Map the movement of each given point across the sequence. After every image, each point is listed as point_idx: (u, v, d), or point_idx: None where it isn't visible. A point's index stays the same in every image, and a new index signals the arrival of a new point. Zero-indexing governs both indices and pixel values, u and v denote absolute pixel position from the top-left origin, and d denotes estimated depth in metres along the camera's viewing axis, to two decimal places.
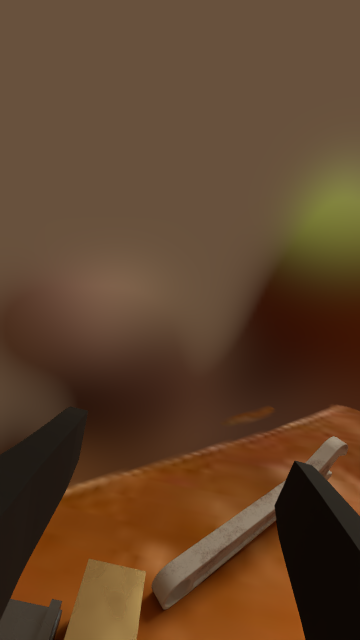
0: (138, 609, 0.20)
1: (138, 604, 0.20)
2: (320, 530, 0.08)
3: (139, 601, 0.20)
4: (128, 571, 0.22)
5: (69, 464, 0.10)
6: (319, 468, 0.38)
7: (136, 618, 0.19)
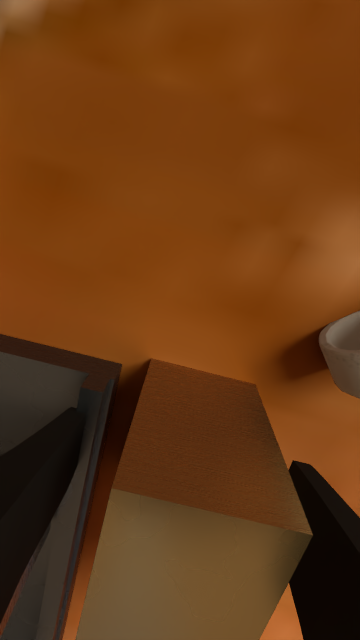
0: (267, 611, 0.07)
1: (269, 601, 0.07)
2: (318, 530, 0.08)
3: (274, 598, 0.07)
4: (251, 531, 0.06)
5: (70, 464, 0.10)
6: None
7: (258, 624, 0.07)
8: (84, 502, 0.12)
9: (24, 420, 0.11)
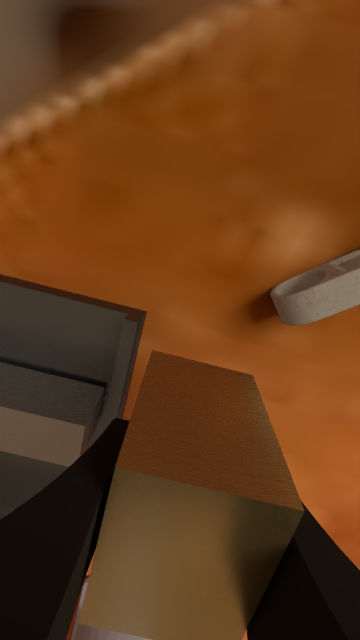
0: (262, 585, 0.07)
1: (264, 575, 0.07)
2: None
3: (268, 572, 0.07)
4: (246, 507, 0.07)
5: None
6: None
7: (253, 597, 0.07)
8: (121, 403, 0.18)
9: (84, 346, 0.17)
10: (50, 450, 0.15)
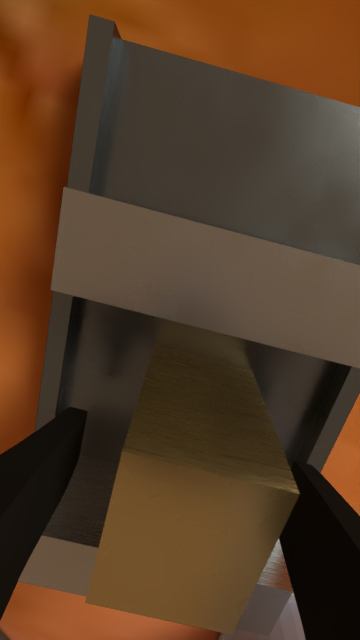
0: (260, 564, 0.08)
1: (262, 555, 0.08)
2: (320, 530, 0.08)
3: (266, 552, 0.07)
4: (245, 490, 0.07)
5: (69, 464, 0.10)
6: None
7: (252, 577, 0.08)
8: None
9: (350, 196, 0.11)
10: None
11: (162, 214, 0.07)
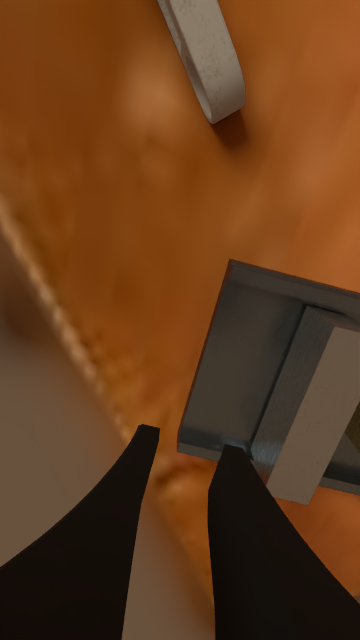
0: None
1: None
2: (234, 510, 0.08)
3: None
4: None
5: None
6: None
7: None
8: (329, 289, 0.17)
9: (259, 321, 0.18)
10: None
11: (277, 458, 0.16)
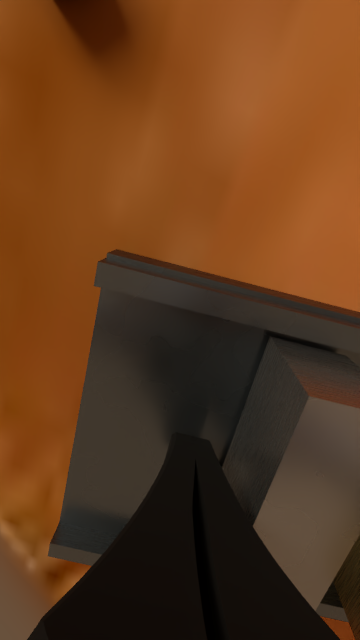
0: None
1: None
2: None
3: None
4: None
5: None
6: None
7: None
8: (278, 302, 0.10)
9: (164, 355, 0.10)
10: None
11: None
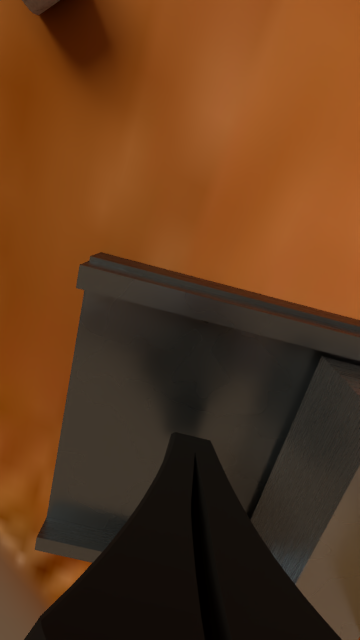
0: None
1: None
2: (193, 500, 0.08)
3: None
4: None
5: None
6: None
7: None
8: (255, 304, 0.10)
9: (146, 354, 0.11)
10: None
11: None
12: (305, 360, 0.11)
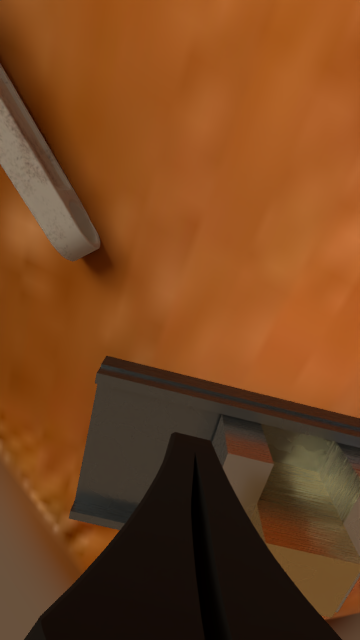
0: (310, 555, 0.15)
1: (304, 554, 0.15)
2: (193, 501, 0.08)
3: (301, 553, 0.15)
4: None
5: None
6: None
7: (319, 557, 0.15)
8: (186, 387, 0.20)
9: (131, 411, 0.20)
10: (252, 481, 0.17)
11: None
12: (215, 414, 0.20)
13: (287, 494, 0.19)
